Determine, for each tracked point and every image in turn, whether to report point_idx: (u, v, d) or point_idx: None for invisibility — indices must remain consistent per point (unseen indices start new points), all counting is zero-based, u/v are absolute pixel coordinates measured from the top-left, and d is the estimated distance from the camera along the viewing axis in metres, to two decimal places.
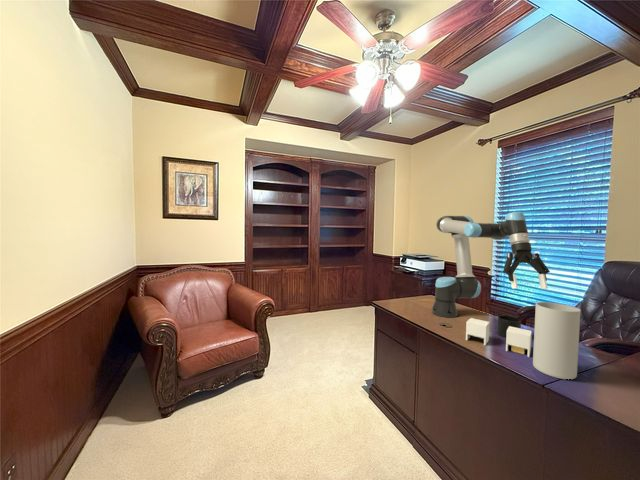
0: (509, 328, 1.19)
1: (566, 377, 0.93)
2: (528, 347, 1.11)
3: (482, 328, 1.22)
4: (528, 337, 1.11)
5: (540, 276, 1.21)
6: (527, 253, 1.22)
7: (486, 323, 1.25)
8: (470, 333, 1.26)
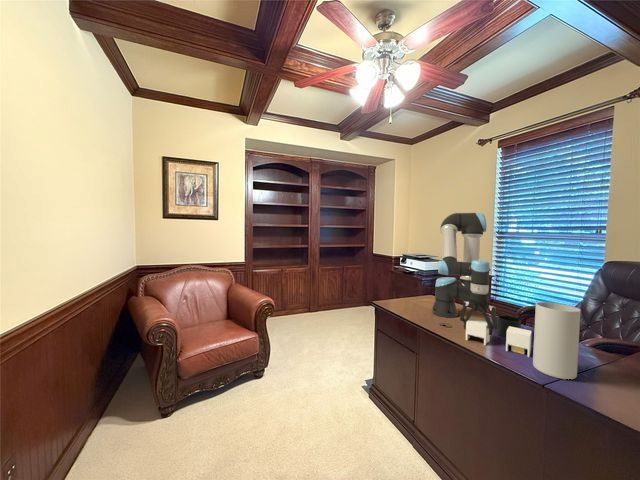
0: (509, 328, 1.19)
1: (566, 377, 0.93)
2: (528, 347, 1.11)
3: (482, 328, 1.22)
4: (528, 337, 1.11)
5: None
6: (482, 303, 1.25)
7: (486, 323, 1.25)
8: (470, 333, 1.26)
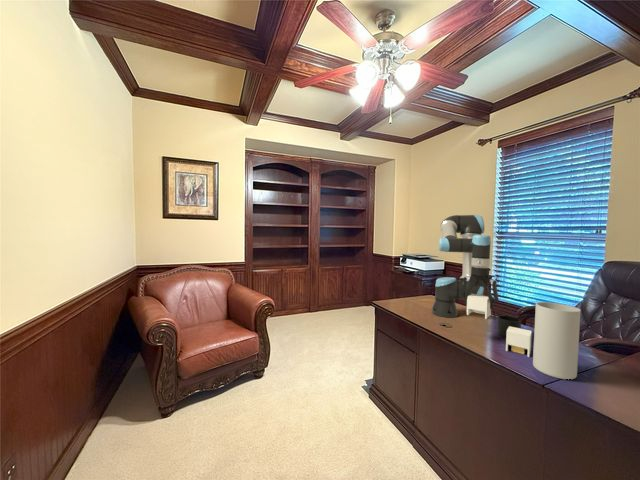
0: (509, 328, 1.19)
1: (566, 377, 0.93)
2: (528, 347, 1.11)
3: (483, 301, 1.22)
4: (528, 337, 1.11)
5: None
6: (483, 277, 1.24)
7: (487, 297, 1.25)
8: (471, 307, 1.25)
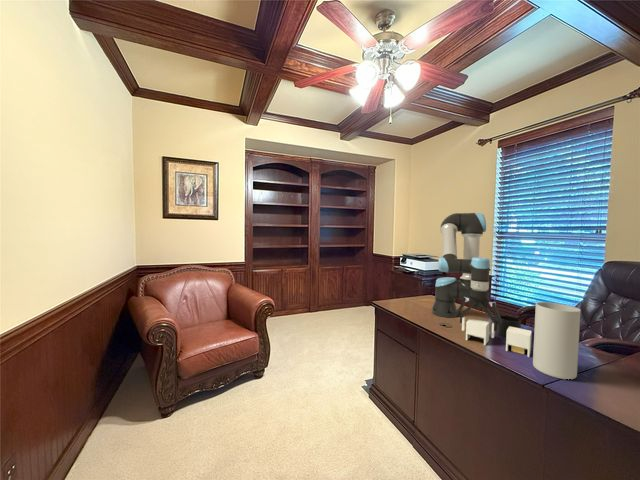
0: (509, 328, 1.19)
1: (566, 377, 0.93)
2: (528, 347, 1.11)
3: (482, 328, 1.22)
4: (528, 337, 1.11)
5: (492, 325, 1.23)
6: (482, 300, 1.25)
7: (486, 323, 1.25)
8: (470, 333, 1.26)
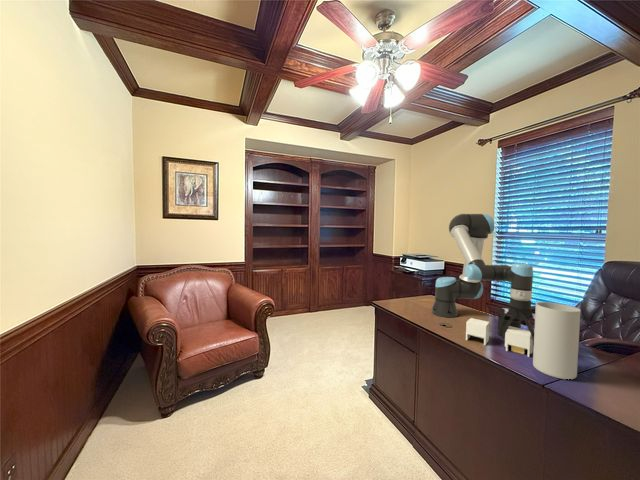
0: (509, 328, 1.19)
1: (566, 377, 0.93)
2: (528, 347, 1.11)
3: (482, 328, 1.22)
4: (528, 337, 1.11)
5: (530, 339, 1.14)
6: (525, 310, 1.14)
7: (486, 323, 1.25)
8: (470, 333, 1.26)
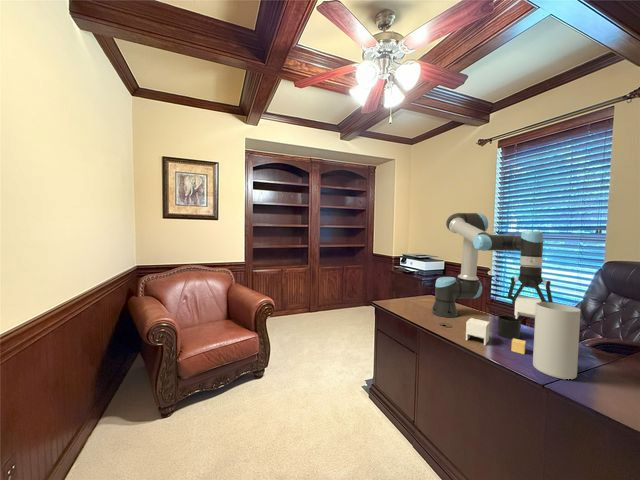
0: (518, 296, 1.19)
1: (566, 377, 0.93)
2: None
3: (482, 328, 1.22)
4: None
5: None
6: (535, 277, 1.13)
7: (486, 323, 1.25)
8: (470, 333, 1.26)
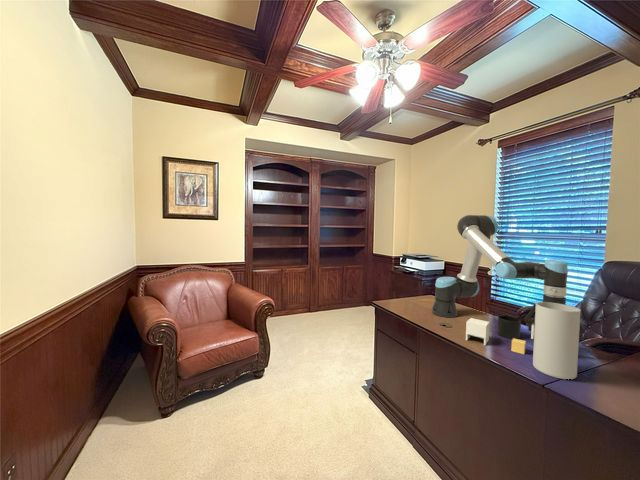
0: None
1: (566, 377, 0.93)
2: None
3: (482, 328, 1.22)
4: None
5: None
6: None
7: (486, 323, 1.25)
8: (470, 333, 1.26)
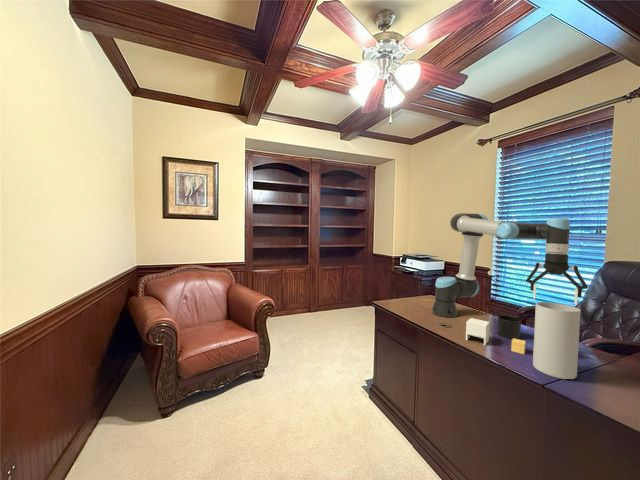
0: None
1: (566, 377, 0.93)
2: None
3: (482, 328, 1.22)
4: None
5: (575, 290, 1.11)
6: (560, 265, 1.13)
7: (486, 323, 1.25)
8: (470, 333, 1.26)
